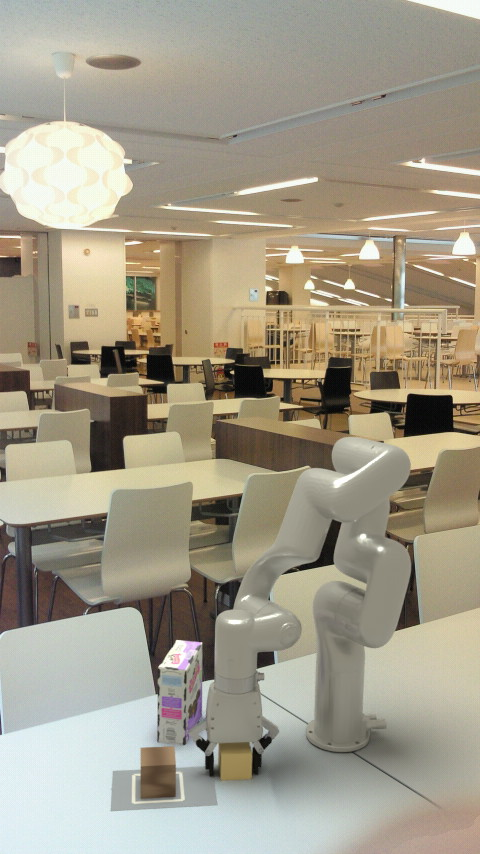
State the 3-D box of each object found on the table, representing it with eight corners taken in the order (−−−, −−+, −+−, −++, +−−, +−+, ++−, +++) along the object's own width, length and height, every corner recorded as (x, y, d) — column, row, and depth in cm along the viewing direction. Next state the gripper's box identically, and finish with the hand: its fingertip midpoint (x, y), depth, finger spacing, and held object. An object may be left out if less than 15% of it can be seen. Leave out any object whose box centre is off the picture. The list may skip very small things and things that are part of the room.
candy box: (185, 750, 162) (186, 669, 159) (156, 746, 163) (156, 666, 161) (203, 715, 175) (203, 640, 173) (175, 712, 176) (176, 638, 174)
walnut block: (174, 777, 151) (174, 746, 150) (175, 796, 145) (175, 764, 144) (140, 778, 150) (140, 747, 150) (140, 798, 145) (140, 766, 144)
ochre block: (247, 767, 157) (248, 737, 156) (251, 784, 151) (252, 753, 150) (218, 768, 156) (218, 738, 155) (220, 786, 151) (221, 754, 150)
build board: (211, 770, 155) (211, 765, 155) (217, 810, 143) (217, 804, 143) (112, 776, 153) (112, 770, 153) (110, 816, 141) (110, 810, 141)
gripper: (279, 669, 155) (277, 758, 158) (185, 672, 153) (184, 762, 156) (286, 688, 148) (283, 781, 151) (187, 691, 146) (186, 785, 149)
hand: (233, 770), depth 153 cm, fingers open, 7 cm apart
